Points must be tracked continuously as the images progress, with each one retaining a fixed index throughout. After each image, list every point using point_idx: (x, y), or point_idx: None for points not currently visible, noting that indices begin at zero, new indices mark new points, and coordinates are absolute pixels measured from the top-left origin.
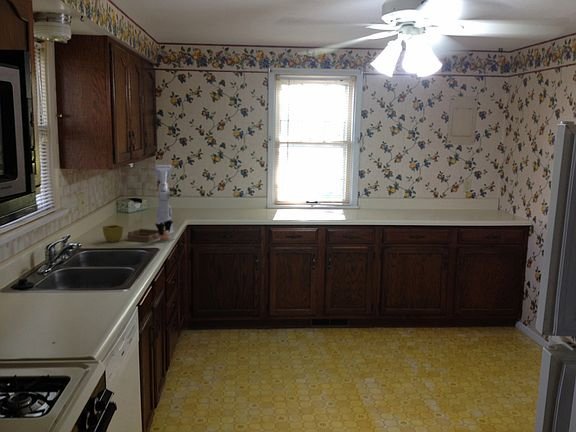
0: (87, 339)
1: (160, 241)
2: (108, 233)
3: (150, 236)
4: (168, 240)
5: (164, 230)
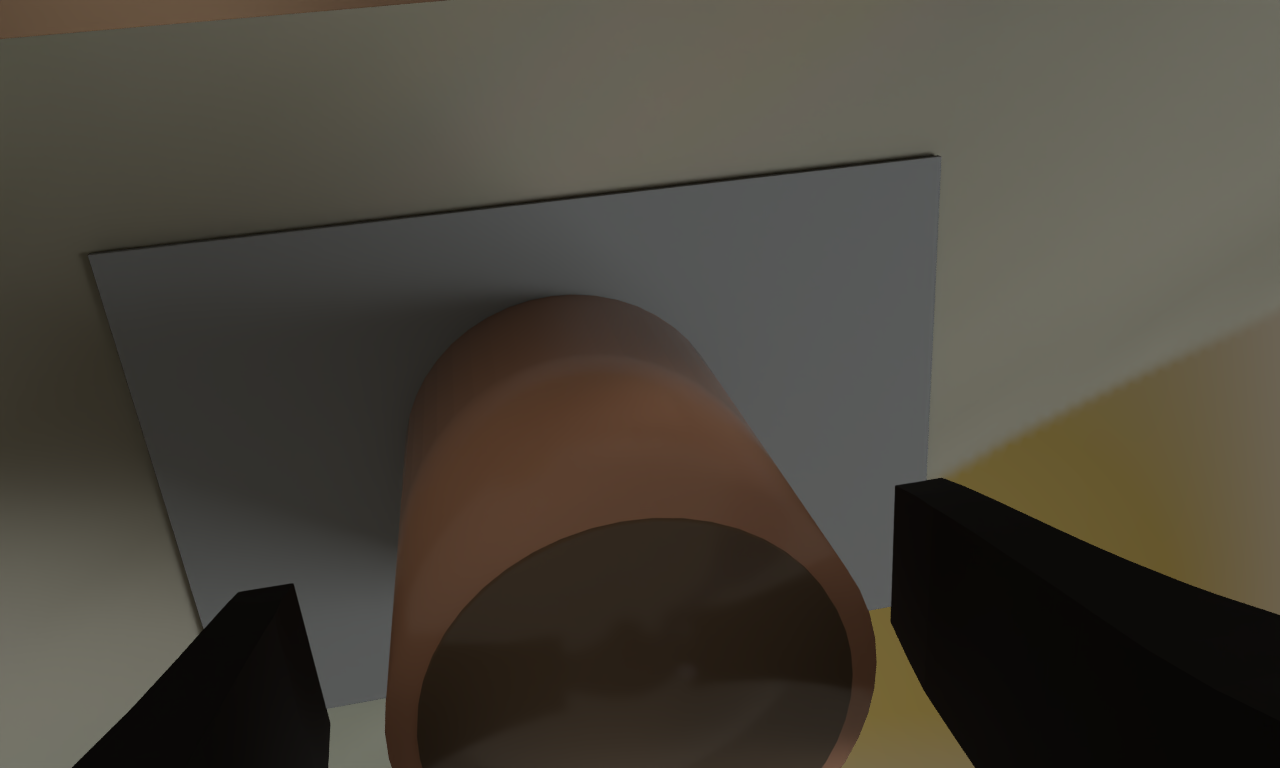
0: None
1: (317, 454)
2: None
3: (53, 33)
4: None
5: (633, 737)
